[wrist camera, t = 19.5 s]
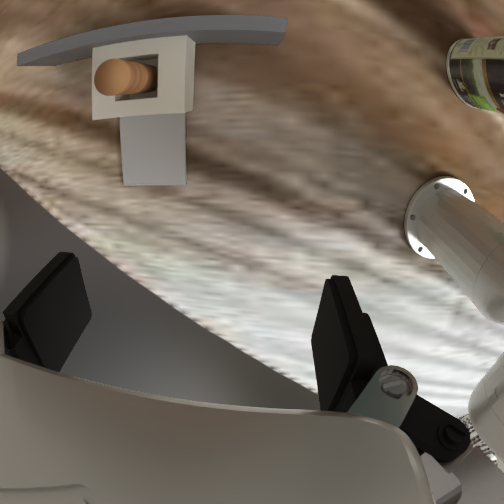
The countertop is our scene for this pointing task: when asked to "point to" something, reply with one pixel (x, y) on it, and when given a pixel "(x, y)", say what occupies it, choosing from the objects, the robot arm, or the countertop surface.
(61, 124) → the countertop surface
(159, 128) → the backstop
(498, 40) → the coffee can
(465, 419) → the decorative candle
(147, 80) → the dowel
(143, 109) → the socket block
